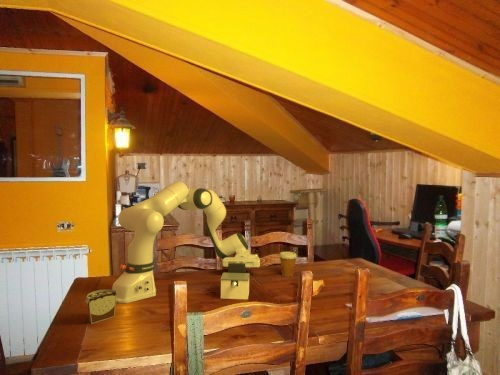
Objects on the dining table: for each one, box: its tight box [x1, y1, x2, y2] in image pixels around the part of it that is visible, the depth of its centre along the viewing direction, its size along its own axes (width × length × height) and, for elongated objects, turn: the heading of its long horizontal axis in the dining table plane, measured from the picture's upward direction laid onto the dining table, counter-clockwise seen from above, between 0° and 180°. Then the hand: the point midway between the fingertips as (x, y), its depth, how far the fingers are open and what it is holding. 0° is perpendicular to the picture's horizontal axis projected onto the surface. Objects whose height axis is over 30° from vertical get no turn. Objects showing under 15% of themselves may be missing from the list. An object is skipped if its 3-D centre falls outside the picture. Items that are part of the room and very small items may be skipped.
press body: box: [220, 272, 250, 300], centre depth 177 cm, size 10×12×9 cm
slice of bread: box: [311, 279, 325, 297], centre depth 189 cm, size 18×18×4 cm
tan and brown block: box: [84, 289, 118, 325], centre depth 148 cm, size 12×6×10 cm, turn 141°
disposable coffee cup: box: [279, 251, 297, 278], centre depth 212 cm, size 10×10×12 cm
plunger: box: [227, 263, 246, 288], centre depth 176 cm, size 17×8×11 cm, turn 177°
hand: (240, 266), depth 201 cm, fingers closed
